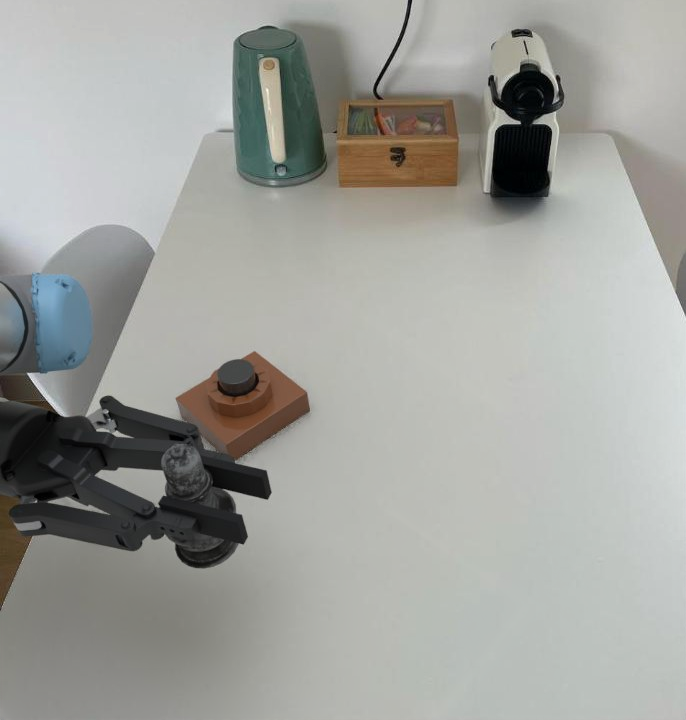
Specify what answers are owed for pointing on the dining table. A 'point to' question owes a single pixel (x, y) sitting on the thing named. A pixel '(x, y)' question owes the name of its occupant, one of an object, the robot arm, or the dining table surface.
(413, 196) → the dining table surface
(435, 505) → the dining table surface
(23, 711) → the dining table surface
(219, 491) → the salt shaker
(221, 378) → the button
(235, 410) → the brown square base plate
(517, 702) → the dining table surface
